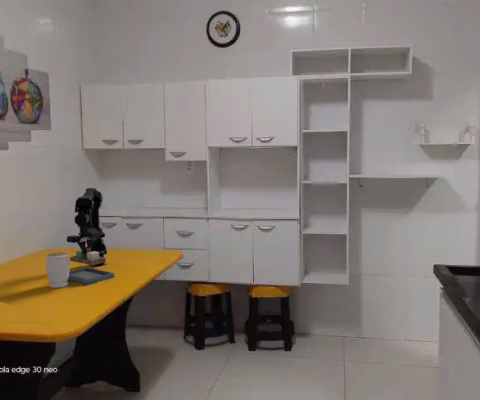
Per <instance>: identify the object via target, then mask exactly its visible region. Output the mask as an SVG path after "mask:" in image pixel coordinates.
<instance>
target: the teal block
mask: <svg viewBox="0 0 480 400" xmlns="http://www.w3.org/2000/svg"><path fill="white" fill-rule="evenodd" d="M75 256H76V258H81V259H84V255H83V252H82V250H81V249H79V250H75Z"/></svg>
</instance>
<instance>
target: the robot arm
mask: <svg viewBox="0 0 480 400" xmlns="http://www.w3.org/2000/svg"><path fill="white" fill-rule="evenodd" d="M103 199H104V198H103V193H102V192H100V191H98V190H97V188H95V187H88V188H85V192H84V193H83V195H81V196H78V197H77V199H76V200H75V205H74V213H77V214H76V215H75V217H74V219H73V220H74V223H75V225H77V227H78V228H79V232H78V235H75V234H72V235H67V237H66V242H67V243H72V244H77V245H78V246H79V248H80V250H82V252H83V254H86V247H91V252H93V251H95V252H99V257H102V258H105V255H107V254H108V250H107V245H106V244H105V243H104V239H103V238H106V233H105V232H104V231H103V228H102V227H101V221H100V209H101V206H102V205H103V202H104V201H103ZM106 265H108V264H107V263H106V262H104V263H100V264H95V265H90V267H91V266H92V267H95V268H96V267H97V268H99V267H102V266H106Z"/></svg>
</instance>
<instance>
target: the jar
mask: <svg viewBox="0 0 480 400" xmlns="http://www.w3.org/2000/svg"><path fill="white" fill-rule="evenodd" d="M69 256H70V253H69V252H54V253H52V252H51V253H48V254H45V255H44V258H45V259H46V262H45V272H46V275H47V276H46V277H47V279H48V282H49V287H50V288H52V289H57V288H58V289H59V288H65V287H67V286H68V285H69V282H68V281H69V280H68V278H69V271H71V269H70V268H71V265H70V258H69Z"/></svg>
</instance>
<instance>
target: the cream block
mask: <svg viewBox="0 0 480 400" xmlns="http://www.w3.org/2000/svg"><path fill="white" fill-rule="evenodd" d="M97 259H99V252H95V251H93V252H88V253H87V260H91V261H93V260H97Z"/></svg>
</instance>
